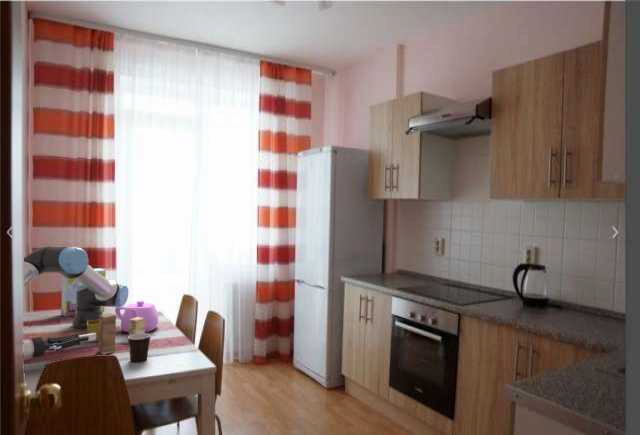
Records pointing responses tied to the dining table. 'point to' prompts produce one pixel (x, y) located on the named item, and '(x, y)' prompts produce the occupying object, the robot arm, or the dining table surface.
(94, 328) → the flower pot
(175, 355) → the dining table surface
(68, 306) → the snack box
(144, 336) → the coffee mug
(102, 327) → the walnut block
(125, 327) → the teapot
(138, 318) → the oak block
